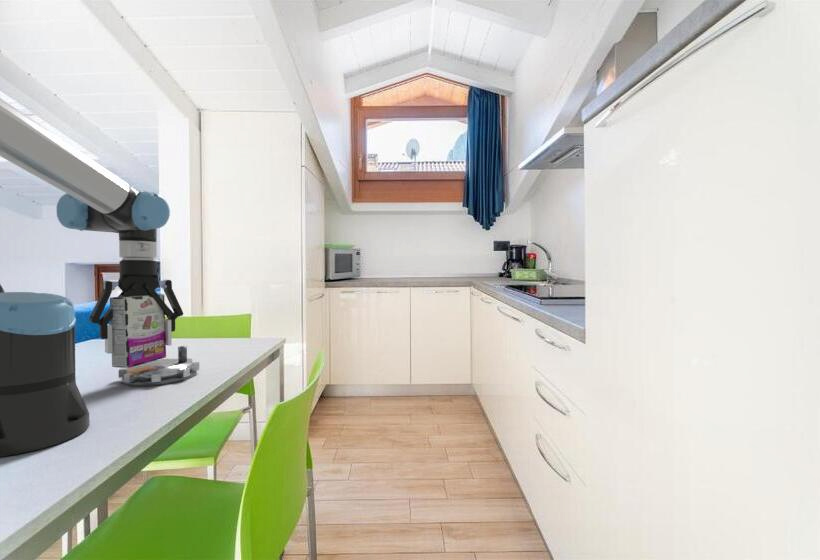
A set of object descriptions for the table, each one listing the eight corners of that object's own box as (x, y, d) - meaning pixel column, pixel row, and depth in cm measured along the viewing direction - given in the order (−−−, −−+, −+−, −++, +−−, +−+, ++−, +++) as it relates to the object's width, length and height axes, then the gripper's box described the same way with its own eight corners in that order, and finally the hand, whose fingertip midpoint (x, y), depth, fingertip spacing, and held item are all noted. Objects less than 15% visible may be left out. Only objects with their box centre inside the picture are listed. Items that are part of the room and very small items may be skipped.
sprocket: (110, 386, 89) (110, 360, 89) (126, 368, 105) (126, 345, 104) (197, 377, 97) (197, 353, 96) (200, 362, 112) (200, 341, 112)
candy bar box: (150, 356, 103) (149, 293, 102) (166, 357, 102) (166, 294, 101) (109, 367, 92) (108, 296, 91) (127, 368, 91) (126, 297, 90)
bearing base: (134, 390, 89) (134, 387, 89) (113, 377, 99) (113, 374, 99) (207, 376, 102) (207, 372, 102) (181, 365, 112) (181, 363, 112)
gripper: (79, 258, 84) (80, 359, 85) (197, 260, 103) (197, 343, 104) (70, 258, 89) (72, 354, 90) (185, 260, 108) (185, 339, 109)
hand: (139, 348), depth 97 cm, fingers closed on candy bar box, 12 cm apart
